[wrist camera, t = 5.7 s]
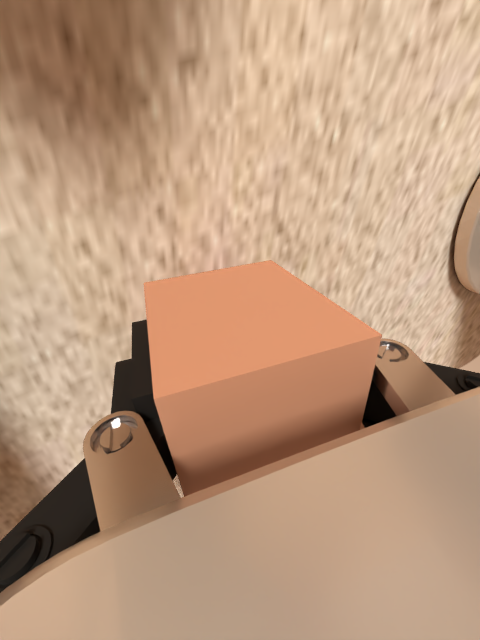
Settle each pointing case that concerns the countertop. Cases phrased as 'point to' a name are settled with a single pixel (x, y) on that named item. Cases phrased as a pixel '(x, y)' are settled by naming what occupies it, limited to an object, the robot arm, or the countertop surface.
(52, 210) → the countertop surface
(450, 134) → the countertop surface
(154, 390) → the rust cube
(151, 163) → the countertop surface
